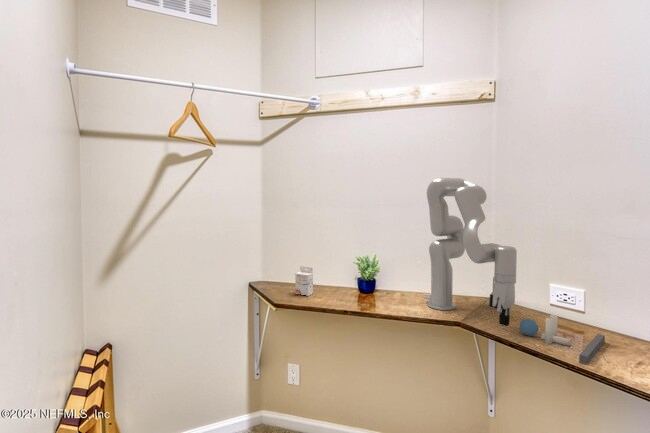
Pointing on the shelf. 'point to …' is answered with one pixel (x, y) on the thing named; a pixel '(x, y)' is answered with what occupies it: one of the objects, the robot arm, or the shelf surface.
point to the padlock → (492, 297)
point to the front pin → (558, 340)
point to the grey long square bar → (591, 349)
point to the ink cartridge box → (304, 281)
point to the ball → (529, 327)
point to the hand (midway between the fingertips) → (504, 324)
